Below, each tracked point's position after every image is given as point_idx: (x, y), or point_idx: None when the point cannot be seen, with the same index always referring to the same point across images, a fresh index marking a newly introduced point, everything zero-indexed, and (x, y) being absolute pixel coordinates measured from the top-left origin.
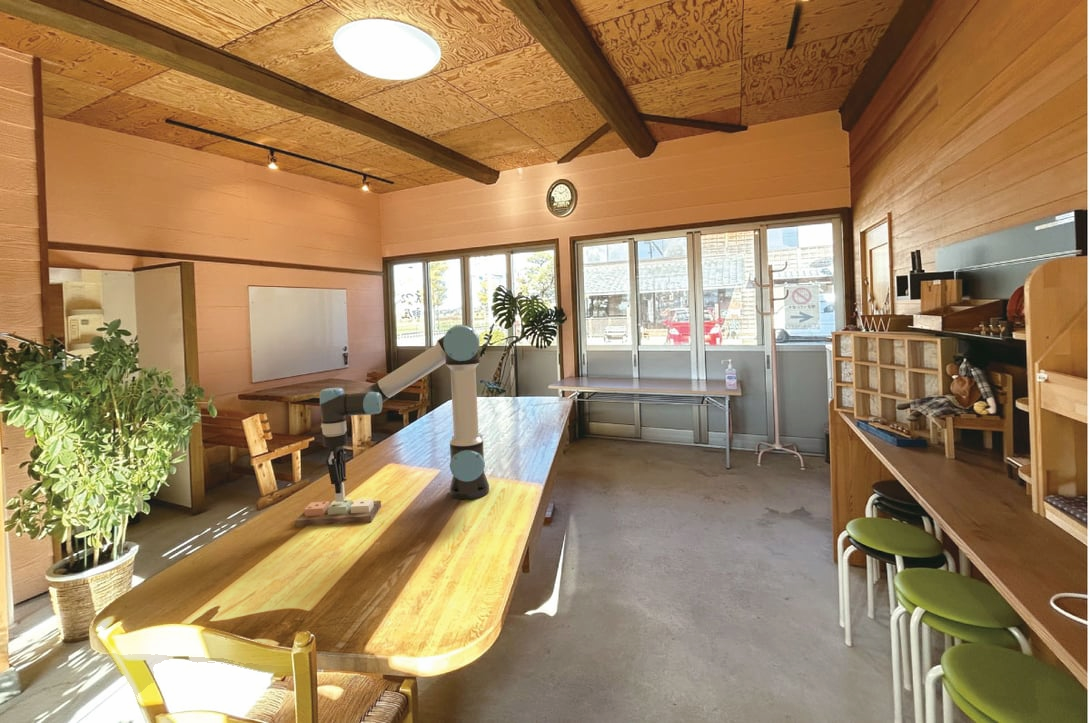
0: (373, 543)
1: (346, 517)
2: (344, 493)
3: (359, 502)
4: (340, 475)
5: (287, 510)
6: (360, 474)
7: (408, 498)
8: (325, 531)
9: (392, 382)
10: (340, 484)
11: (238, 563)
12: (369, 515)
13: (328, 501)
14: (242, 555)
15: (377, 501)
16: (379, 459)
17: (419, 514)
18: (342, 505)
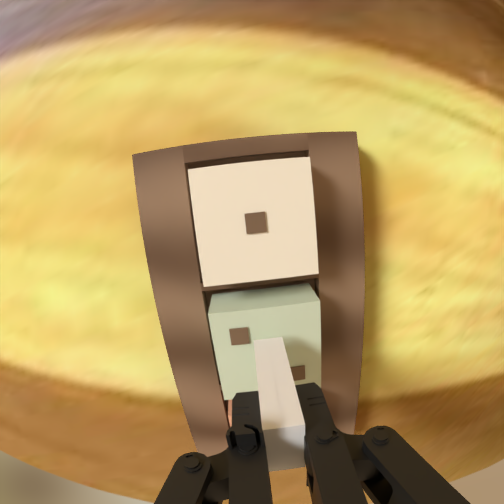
0: (487, 91)
1: (364, 260)
2: (260, 364)
3: (252, 242)
4: (343, 486)
5: None
6: None
7: (56, 71)
8: (402, 311)
9: None
10: (304, 427)
11: (494, 407)
12: (351, 139)
13: (230, 418)
14: (466, 427)
15: (145, 168)
16: None
17: None
18: (299, 328)
